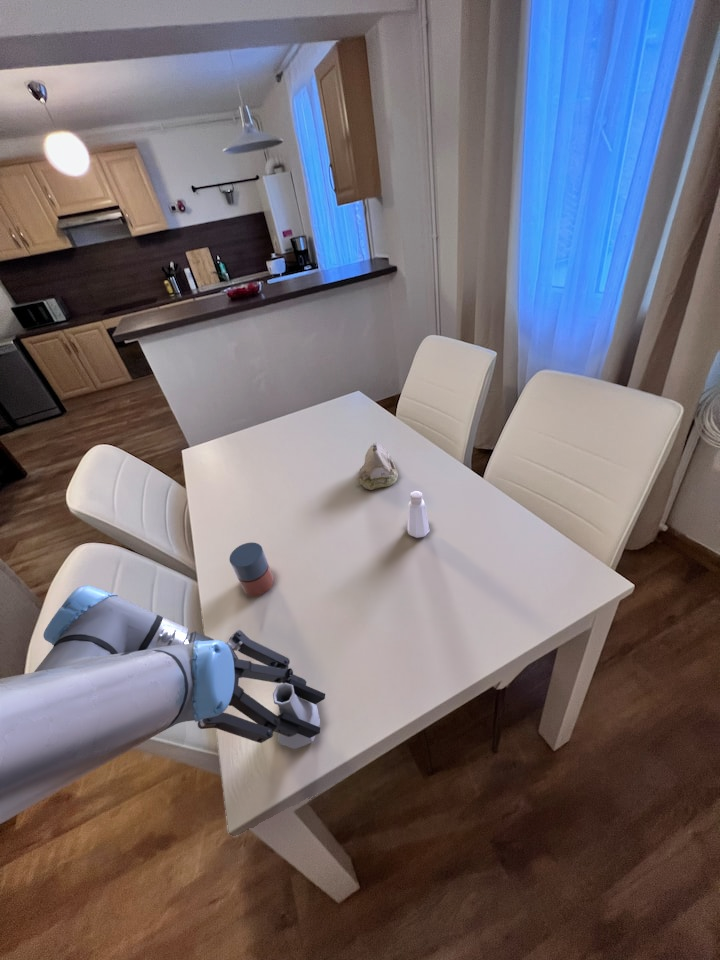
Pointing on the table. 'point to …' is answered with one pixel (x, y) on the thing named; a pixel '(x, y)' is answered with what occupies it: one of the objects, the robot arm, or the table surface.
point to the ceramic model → (377, 468)
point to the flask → (295, 713)
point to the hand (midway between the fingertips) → (317, 715)
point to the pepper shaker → (417, 516)
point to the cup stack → (252, 569)
